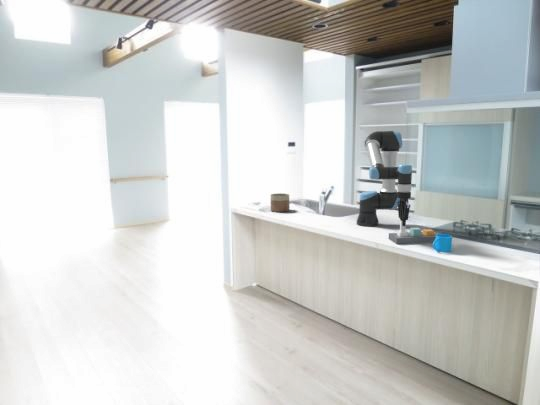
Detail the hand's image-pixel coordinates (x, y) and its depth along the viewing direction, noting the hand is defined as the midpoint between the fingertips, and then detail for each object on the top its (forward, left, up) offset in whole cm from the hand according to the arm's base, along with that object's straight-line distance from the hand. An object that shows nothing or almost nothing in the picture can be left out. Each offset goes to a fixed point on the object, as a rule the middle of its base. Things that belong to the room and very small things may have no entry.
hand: (402, 230), depth 234 cm
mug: (+22, +12, -7) cm, 26 cm away
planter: (-109, -60, -7) cm, 125 cm away
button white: (0, 0, -4) cm, 4 cm away
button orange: (0, +16, -4) cm, 17 cm away
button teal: (0, +8, -3) cm, 9 cm away
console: (0, +8, -6) cm, 10 cm away
